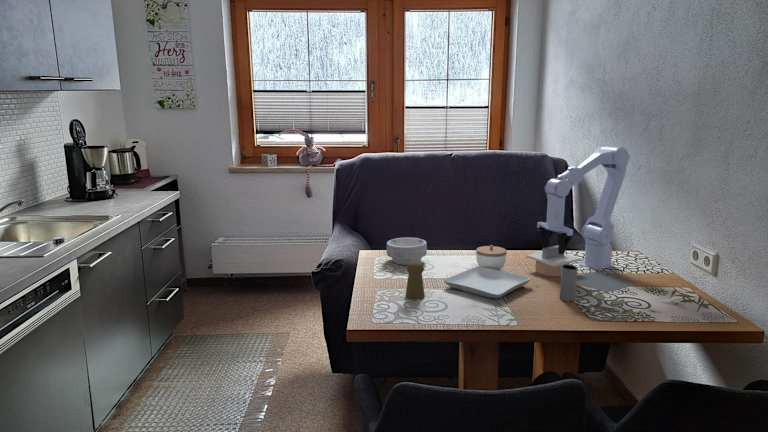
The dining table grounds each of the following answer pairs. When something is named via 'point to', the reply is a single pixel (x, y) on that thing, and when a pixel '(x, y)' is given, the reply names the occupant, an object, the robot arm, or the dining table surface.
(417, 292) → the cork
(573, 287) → the planter
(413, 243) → the grey round bowl
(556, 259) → the cover
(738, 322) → the dining table surface
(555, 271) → the bowl
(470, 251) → the dining table surface
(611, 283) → the mat
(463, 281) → the salad plate
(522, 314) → the dining table surface
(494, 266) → the lidded jar
